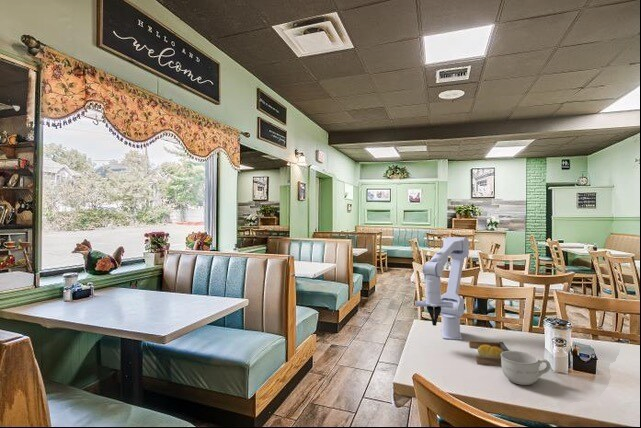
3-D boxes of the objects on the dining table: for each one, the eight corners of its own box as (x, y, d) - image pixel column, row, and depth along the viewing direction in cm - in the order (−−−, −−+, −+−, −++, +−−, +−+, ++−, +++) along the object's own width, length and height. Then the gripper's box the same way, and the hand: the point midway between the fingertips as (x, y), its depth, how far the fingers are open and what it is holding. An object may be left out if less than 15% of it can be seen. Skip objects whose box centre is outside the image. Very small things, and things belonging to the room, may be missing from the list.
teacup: (501, 384, 107) (500, 359, 107) (500, 369, 117) (500, 346, 116) (554, 394, 100) (553, 368, 100) (549, 378, 110) (548, 353, 110)
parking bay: (469, 346, 137) (468, 340, 137) (503, 348, 134) (502, 341, 134) (477, 363, 121) (477, 357, 121) (515, 366, 118) (515, 359, 118)
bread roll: (482, 349, 133) (482, 339, 133) (507, 356, 127) (506, 346, 127) (473, 356, 128) (473, 346, 128) (499, 364, 121) (498, 352, 121)
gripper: (415, 293, 134) (416, 327, 134) (453, 294, 130) (454, 329, 130) (414, 289, 141) (415, 321, 141) (451, 289, 137) (452, 323, 137)
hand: (434, 324), depth 136 cm, fingers closed
